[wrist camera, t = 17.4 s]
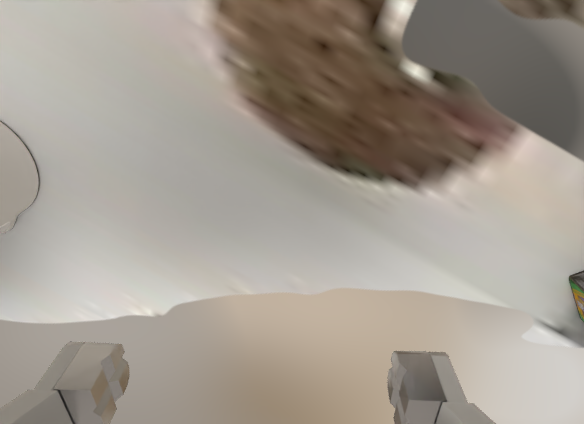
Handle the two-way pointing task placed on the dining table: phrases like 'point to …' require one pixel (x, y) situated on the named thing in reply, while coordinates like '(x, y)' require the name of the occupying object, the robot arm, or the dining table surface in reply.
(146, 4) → the dining table surface
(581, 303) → the chalk box
